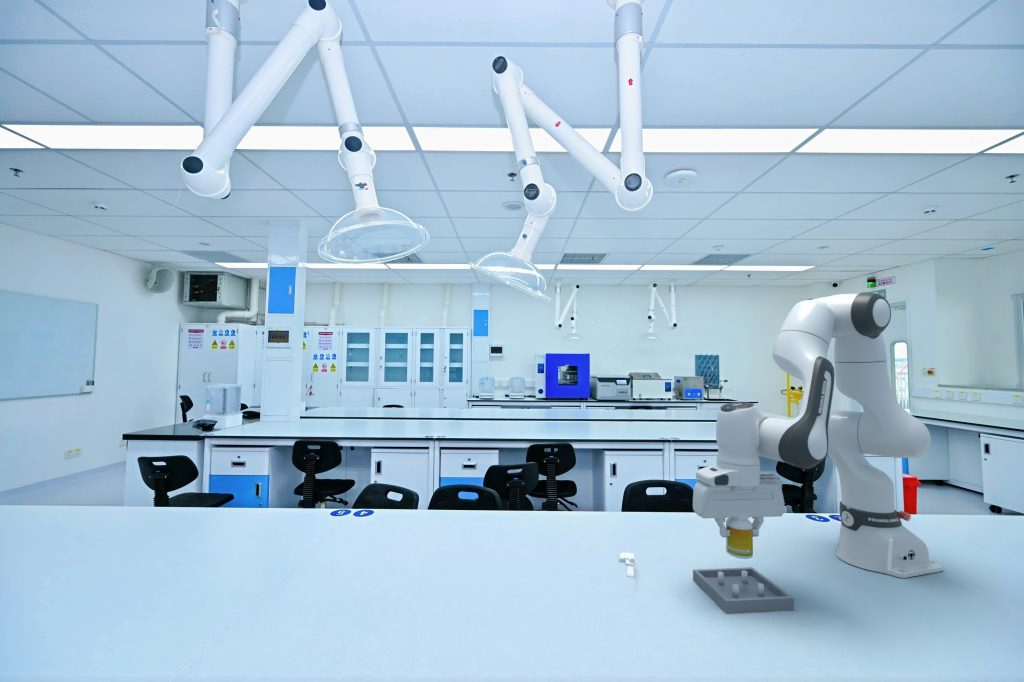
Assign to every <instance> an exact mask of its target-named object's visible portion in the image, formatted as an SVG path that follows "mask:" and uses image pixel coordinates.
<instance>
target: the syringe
mask: <svg viewBox="0 0 1024 682" xmlns="http://www.w3.org/2000/svg"><path fill="white" fill-rule="evenodd" d="M618 562H620V563H624V562H625V565H626V574H627V575H626V576H627V577H628V578H634V577H635V574H634V571H635V569H634V567H633V566H636V562H635V554H634V552H629V551H627V552H625V551H623V552H620V553H619V555H618ZM636 581H638V579H637V580H636Z"/></svg>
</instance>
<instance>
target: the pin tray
mask: <svg viewBox="0 0 1024 682" xmlns="http://www.w3.org/2000/svg"><path fill="white" fill-rule="evenodd" d="M692 580H693V582H694V583H695V584H696V585H697V586H698V587H699V588H700V589H701V590H702V591H703V592H704V593H705V594H706V595H707V596H708V597H709V598H711V600H713V602H714V603H715V604H717V605H718V606H719V608H720V609H721V610H722V611H724V612H725V613H726V614H743V613H746V614H747V613H762V612H763V613H764V612H765V613H766V612H779V611H780V612H781V611H782V612H784V611H795V597H793V596H792V595H791V594H790V593H788V592H786V591H785V590H784V589H783V588H781V587H780V586H779V585H778V584H776V583H774V582H773V581H771V580H770V579H769V578H767V577H766V576H765V575H763V574H762V573H761V572H759V571H758V570H757V569H755V568H754V567H752V566H751V567H731V568H730V567H727V568H726V567H725V568H704V569H703V568H699V569H698V568H697V569H692Z"/></svg>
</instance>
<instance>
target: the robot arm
mask: <svg viewBox="0 0 1024 682" xmlns="http://www.w3.org/2000/svg"><path fill="white" fill-rule="evenodd" d="M891 318H892V310H891V305H890V303H889V301H888V300H887V299H886V298H885V297H884V296H883V295H882V294H880V293H876V292H866V291H864V292H859V293H839V294H838V293H837V294H833V295H829V296H822V297H818V298H814V299H813V298H808V299H804V300H801V301H799V302H797V303H796V304H794V306H792V309H790V311H789V312H788V314H787V316H786V317H785V319H784V321H783V322H782V324H781V326H780V329H779V331H778V333H777V336H776V338H775V340H774V343H773V346H772V358H773V361H774V362H775V364H776V365H777V366H778V367H779V369H781V370H782V371H784V372H785V373H787V374H788V375H790V376H792V377H794V378H796V379H799V380H801V381H803V391H802V398H801V404H800V407H799V408H800V410H799V414H798V415H797V416H796V417H794V418H791V419H789V418H782V417H781V418H780V417H775V416H769V415H767V414H765V413H763V412H761V411H760V410H758V409H757V408H756V406H755V404H753V403H751V402H746V401H737V402H736V401H735V402H734V401H733V402H728V403H725V404H723V405H722V406H720V407H719V409H718V412H717V417H716V425H715V427H716V428H715V439H716V440H715V441H716V445H717V455H716V462H715V463H713V464H711V465H708V466H705V467H703V468H700V469H698V470H696V471H695V479H697V480H698V481H697V482H696V483H695V485H694V487H693V493H692V494H693V495H692V509H693V512H694V513H695V514H696V515H697V516H698V517H700V518H702V519H714V521H715V522H716V524H717V525H718V526H717V527H718V528H719V535H720V536H721V537H722V538H725V539H726V537H730V530H729V529H727V528H726V525H725V524H724V523H726V519H728V518H737V517H739V516H740V515H741V513H747V515H748V517H749V518H752V519H753V521H752V522H751V523H752V526H753V537H759V536H760V528H761V527H762V525H763V523H764V521H765V520H764V519H765V518H767V517H768V518H769V517H771V518H772V517H774V518H776V517H783V515H784V514H785V512H786V509H785V508H786V506H785V499H784V494H783V490H782V489H783V484H782V483H783V482H782V479H781V478H780V477H779V475H778V476H777V475H776V474H775V473H761V461H760V459H759V457H761V458H762V457H763V458H766V459H770V460H774V461H777V462H782V463H786V464H788V465H791V466H793V467H796V468H798V469H804V470H809V469H811V468H813V467H815V466H818V465H819V464H821V462H822V461H824V459H826V457H827V455H828V456H829V458H830V459H831V460H832V461H833V464H834V465H835V467H836V470H837V472H838V476H839V477H838V478H839V484H840V497H841V501H840V502H839V508H838V509H839V516H840V517H839V518H840V527H839V528H840V529H839V534H838V535H839V536H838V537H839V538H838V542H837V547H836V550H835V555H836V557H837V558H839V559H840V560H842V561H843V562H845V563H847V564H849V565H852V566H855V567H858V568H861V569H863V570H868V571H873V572H876V573H877V572H878V573H882V574H886V575H890V576H893V577H895V578H896V577H897V578H902V579H906V578H911V577H916V576H922V575H923V576H924V575H927V574H934V573H938V572H943V571H944V569H943V566H942V565H941V564H940V563H938V562H937V561H935V560H933V559H932V558H930V555H929V549H928V546H927V544H926V542H924V540H922V538H920V537H919V536H917V535H916V534H914V533H913V532H912V531H911V530H909V529H908V528H907V527H905V525H903V523H902V520H904V521H905V522H909V521H910V520H911V519H912V515H911V514H910V513H909V512H905V511H903V510H900V511H897V510H896V508H895V485H894V482H893V480H892V479H891V477H890V476H889V475H888V474H887V473H886V472H884V471H882V470H881V469H879V468H877V467H875V466H874V465H872V464H871V463H870V462H869V461H868V459H867V458H866V456H865V455H872V456H881V457H885V458H886V457H887V458H893V459H894V458H895V459H898V458H899V459H910V458H911V459H912V458H913V459H914V458H921V457H922V456H924V455H925V454H926V453H927V452H928V450H929V448H930V446H931V442H932V438H931V433H930V431H929V429H928V427H927V426H926V424H925V423H923V421H921V420H920V419H918V418H917V417H915V416H913V415H912V414H910V413H909V412H908V411H907V410H906V409H905V408H903V407H902V405H901V404H900V403H899V401H898V400H897V398H896V397H895V396H894V393H893V391H892V388H891V385H890V384H891V383H890V378H889V372H888V371H889V369H888V358H887V350H886V344H885V340H884V336H883V332H884V331H885V330H886V329H887V327H888V326H889V324H890V322H891V320H892V319H891ZM832 339H834V349H833V350H834V352H833V353H834V354H833V360H834V365H833V362H831V361H830V360H829V359H828V350H829V349H830V346H831V345H830V344H831V341H832ZM835 386H836V388H837V391H839V392H840V394H842V395H843V396H845V397H847V398H849V399H851V400H854V401H856V402H857V403H858V404H859V405H860V406H861V407H862V409H863V411H854V410H853V411H852V410H840V409H838V410H837V409H834V410H833V409H832V410H831V408H832V402H833V401H832V400H833V396H834V395H833V394H834V387H835Z"/></svg>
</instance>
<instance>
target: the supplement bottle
mask: <svg viewBox="0 0 1024 682" xmlns="http://www.w3.org/2000/svg"><path fill="white" fill-rule="evenodd" d="M749 519H750V517H748V515H747V513H741V515H740V516H739V517H737V518H726V519H725V527H726V528H727V529H729V530H730V537H725V551H726V554H728V555H730V556H731V557H734V558H737V559H743V560H747V559H752V558H753V556H754V548H753V547H754V544H753V543H754V542H753V541H754V540H753V539H754V538H753V526H752V523H753V522H752V521H750V520H749Z"/></svg>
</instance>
